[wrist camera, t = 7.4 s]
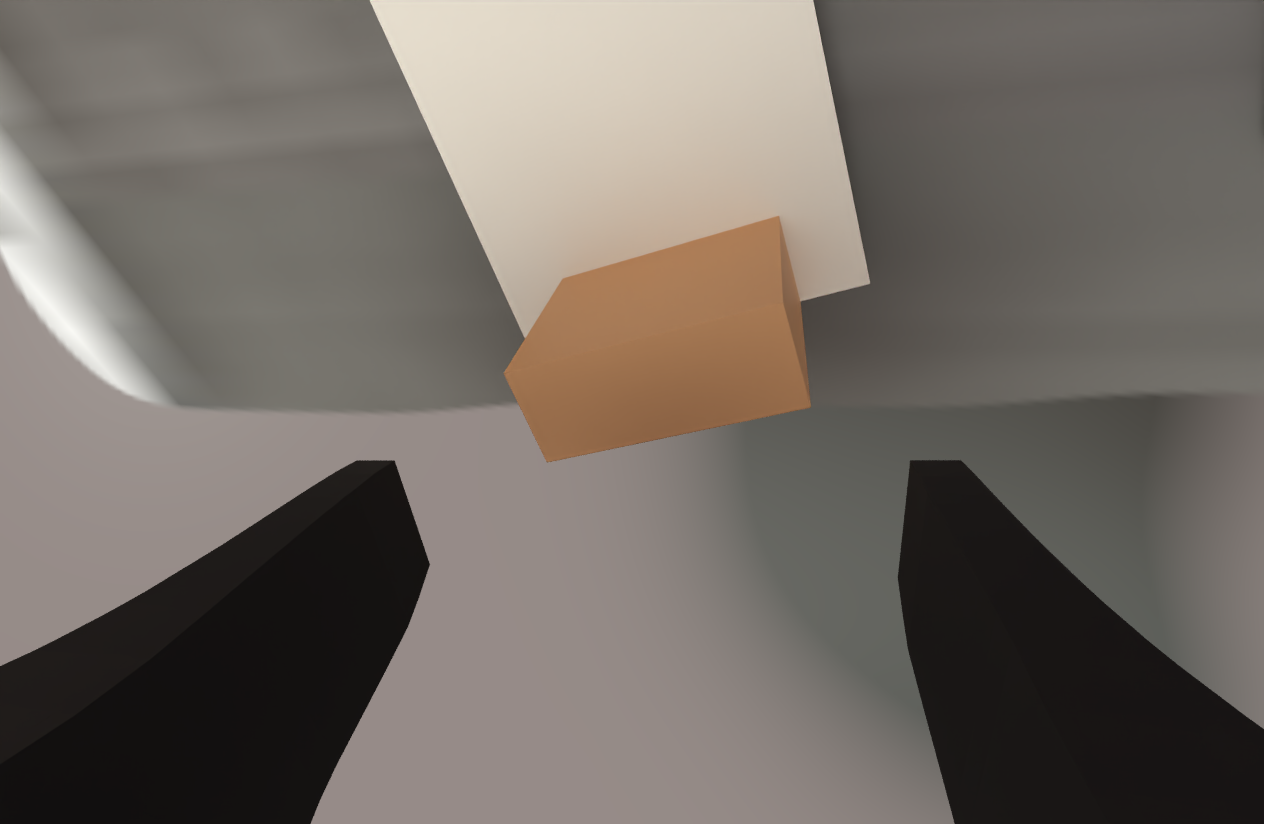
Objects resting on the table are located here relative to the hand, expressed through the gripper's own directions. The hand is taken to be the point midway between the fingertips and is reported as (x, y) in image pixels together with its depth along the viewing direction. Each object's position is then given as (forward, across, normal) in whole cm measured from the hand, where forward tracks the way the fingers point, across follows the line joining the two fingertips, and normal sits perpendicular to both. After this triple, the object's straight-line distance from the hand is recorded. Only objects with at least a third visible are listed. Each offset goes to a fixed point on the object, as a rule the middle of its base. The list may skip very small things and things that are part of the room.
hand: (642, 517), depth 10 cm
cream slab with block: (+8, +2, -6) cm, 10 cm away
